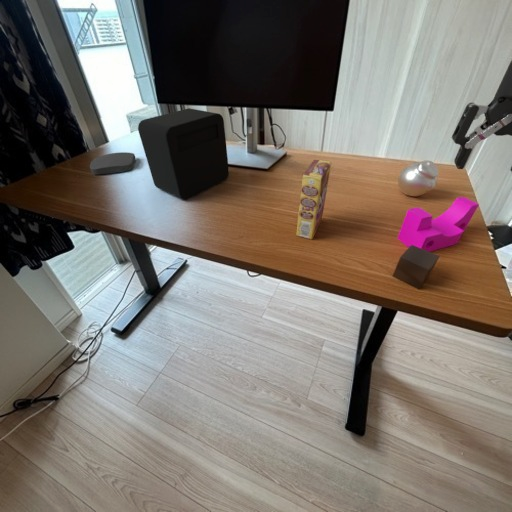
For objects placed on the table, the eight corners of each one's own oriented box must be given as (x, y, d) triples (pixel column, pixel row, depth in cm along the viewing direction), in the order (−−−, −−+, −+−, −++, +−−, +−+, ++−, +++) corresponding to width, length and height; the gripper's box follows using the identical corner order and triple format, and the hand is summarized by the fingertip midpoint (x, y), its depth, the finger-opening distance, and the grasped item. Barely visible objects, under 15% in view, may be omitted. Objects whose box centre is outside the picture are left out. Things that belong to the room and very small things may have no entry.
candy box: (313, 240, 62) (322, 177, 52) (295, 236, 63) (300, 174, 53) (323, 221, 68) (332, 161, 58) (306, 217, 69) (312, 158, 59)
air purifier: (201, 168, 96) (190, 106, 83) (230, 178, 89) (223, 111, 76) (153, 189, 85) (131, 120, 72) (181, 203, 77) (164, 129, 64)
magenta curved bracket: (418, 254, 57) (431, 225, 52) (397, 238, 61) (408, 209, 56) (472, 239, 60) (490, 210, 55) (449, 224, 64) (463, 196, 60)
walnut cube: (429, 275, 52) (439, 256, 49) (419, 289, 49) (429, 269, 46) (403, 263, 55) (411, 244, 51) (392, 276, 52) (400, 256, 49)
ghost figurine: (409, 205, 72) (423, 169, 66) (387, 190, 79) (397, 156, 73) (437, 199, 74) (454, 164, 67) (413, 185, 81) (426, 151, 74)
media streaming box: (133, 171, 96) (130, 163, 94) (90, 176, 94) (86, 168, 92) (137, 157, 107) (135, 149, 105) (98, 161, 105) (95, 154, 103)
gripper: (494, 62, 37) (445, 174, 48) (628, 61, 34) (543, 183, 44) (479, 57, 43) (438, 159, 53) (593, 56, 39) (525, 165, 49)
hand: (486, 169), depth 49 cm, fingers open, 8 cm apart
